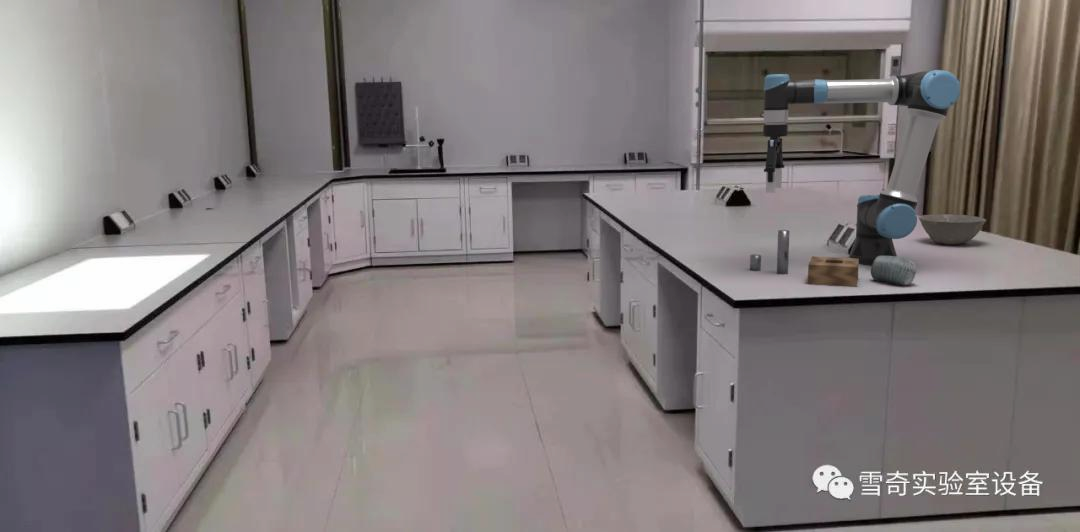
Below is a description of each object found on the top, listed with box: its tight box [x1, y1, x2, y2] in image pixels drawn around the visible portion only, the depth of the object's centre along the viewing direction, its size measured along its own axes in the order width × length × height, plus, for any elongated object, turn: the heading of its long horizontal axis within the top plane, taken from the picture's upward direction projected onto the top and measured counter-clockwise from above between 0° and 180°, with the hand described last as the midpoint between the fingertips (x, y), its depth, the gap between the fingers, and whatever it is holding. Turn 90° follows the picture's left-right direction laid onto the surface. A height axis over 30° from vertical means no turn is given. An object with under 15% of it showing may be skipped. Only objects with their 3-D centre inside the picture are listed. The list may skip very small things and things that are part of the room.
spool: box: [870, 256, 917, 286], centre depth 248 cm, size 14×10×10 cm
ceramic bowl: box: [917, 213, 987, 245], centre depth 311 cm, size 22×23×10 cm
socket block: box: [807, 256, 860, 287], centre depth 252 cm, size 14×14×6 cm
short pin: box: [749, 253, 762, 272], centre depth 271 cm, size 4×4×5 cm
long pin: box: [776, 229, 790, 275], centre depth 264 cm, size 4×4×14 cm
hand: (773, 190), depth 264 cm, fingers open, 13 cm apart
